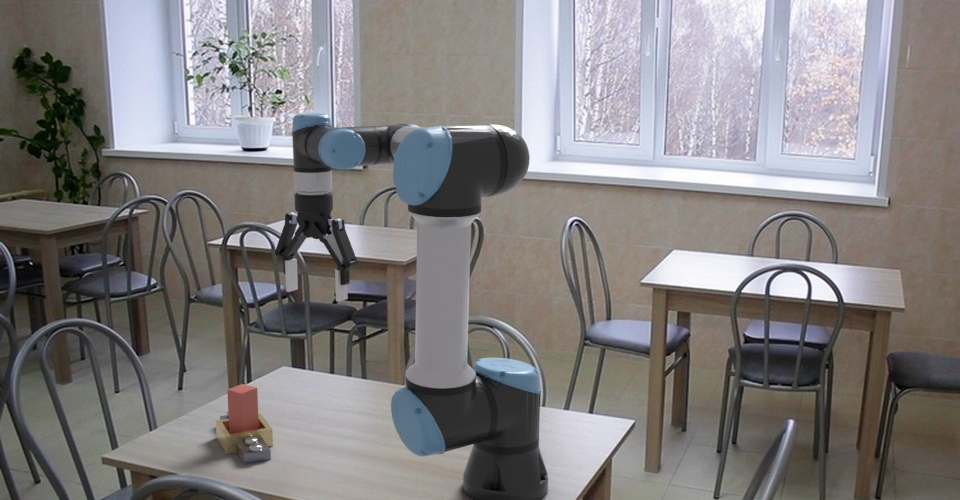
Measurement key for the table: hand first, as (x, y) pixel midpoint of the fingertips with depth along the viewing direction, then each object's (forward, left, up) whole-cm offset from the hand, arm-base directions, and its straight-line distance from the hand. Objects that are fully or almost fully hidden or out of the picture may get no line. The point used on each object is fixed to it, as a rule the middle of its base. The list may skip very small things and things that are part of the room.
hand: (316, 295), depth 200 cm
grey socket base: (-5, +17, -27) cm, 32 cm away
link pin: (-5, +17, -27) cm, 32 cm away
